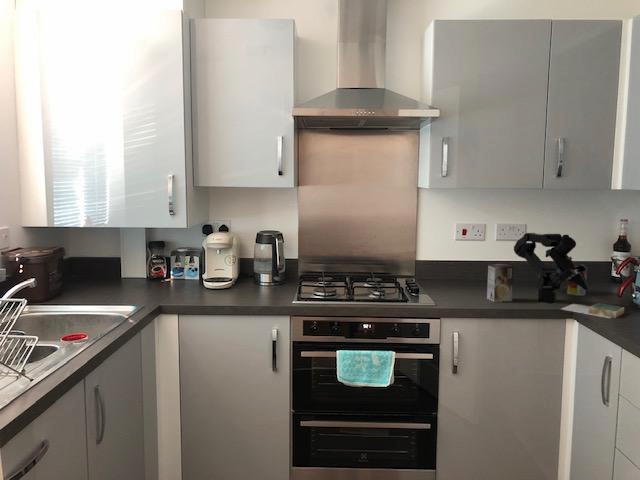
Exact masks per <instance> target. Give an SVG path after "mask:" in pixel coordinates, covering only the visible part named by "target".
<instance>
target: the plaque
mask: <svg viewBox="0 0 640 480" xmlns="http://www.w3.org/2000/svg"><path fill="white" fill-rule="evenodd" d="M588 313H591V314H597V315H602V316H608V317H612V318H614V319H616V318H618V317H620V316H622V315H624V314H625V307H624V306H623V307H622V306H618V305H614V304H613V305H611V304H607V303H600V302H597V303H596V304H592V305H590V307H589V311H588Z"/></svg>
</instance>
